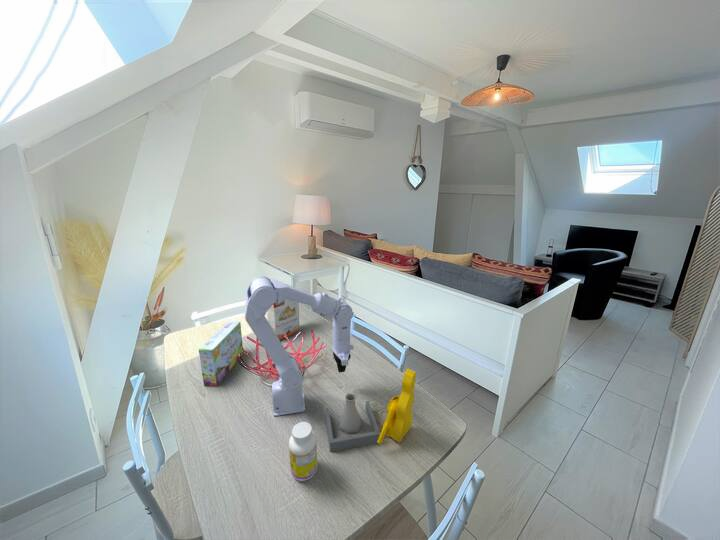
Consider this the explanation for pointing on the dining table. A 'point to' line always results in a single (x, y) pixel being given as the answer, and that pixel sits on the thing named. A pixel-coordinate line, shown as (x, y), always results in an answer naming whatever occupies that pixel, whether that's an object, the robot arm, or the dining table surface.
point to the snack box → (221, 353)
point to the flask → (350, 416)
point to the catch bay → (355, 439)
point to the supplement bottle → (303, 452)
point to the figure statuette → (400, 410)
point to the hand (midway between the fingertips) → (341, 370)
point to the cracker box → (284, 318)
